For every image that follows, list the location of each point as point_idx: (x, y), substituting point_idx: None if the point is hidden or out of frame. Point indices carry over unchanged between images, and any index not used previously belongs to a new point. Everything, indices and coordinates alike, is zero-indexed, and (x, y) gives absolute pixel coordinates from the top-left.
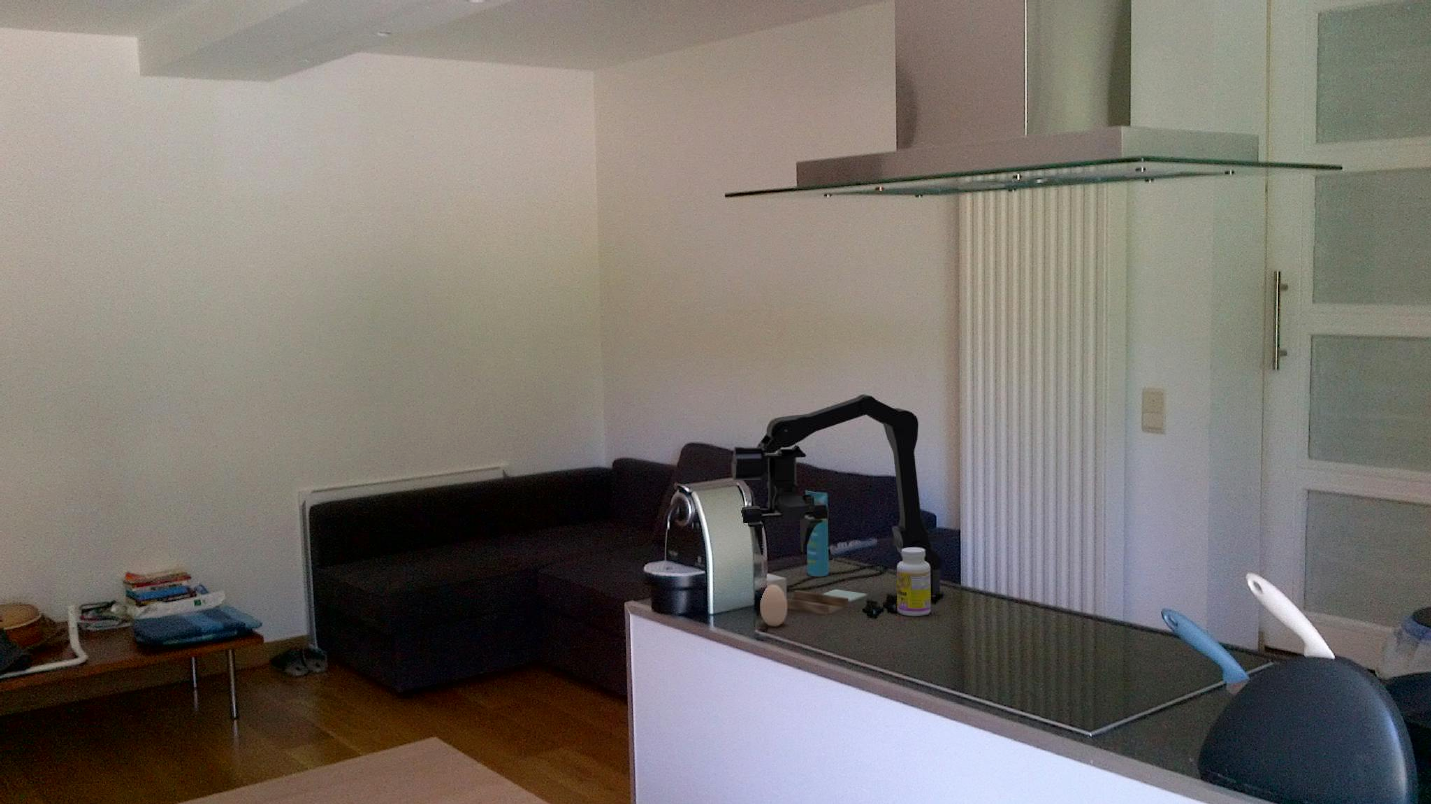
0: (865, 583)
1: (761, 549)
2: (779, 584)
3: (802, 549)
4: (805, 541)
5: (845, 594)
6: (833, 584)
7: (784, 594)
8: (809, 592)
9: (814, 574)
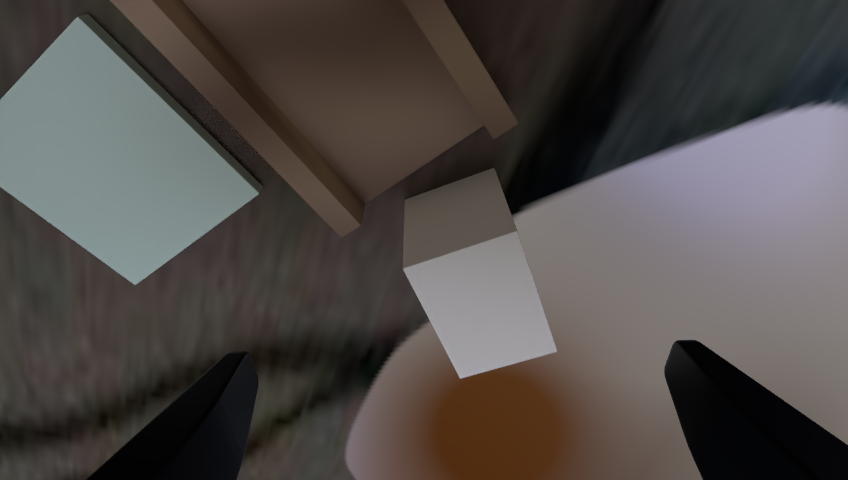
0: (2, 359)
1: (733, 379)
2: (452, 234)
3: (243, 382)
4: (172, 440)
5: (82, 181)
6: (145, 378)
7: (417, 214)
8: (283, 170)
9: None
